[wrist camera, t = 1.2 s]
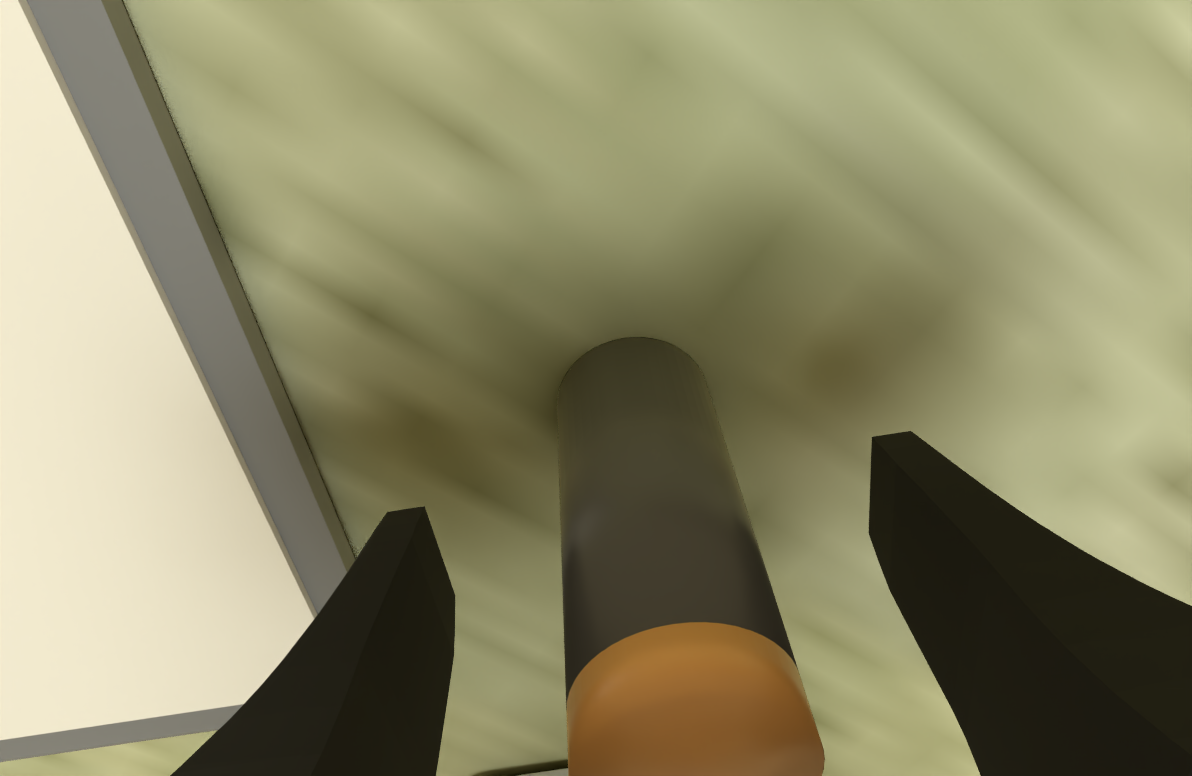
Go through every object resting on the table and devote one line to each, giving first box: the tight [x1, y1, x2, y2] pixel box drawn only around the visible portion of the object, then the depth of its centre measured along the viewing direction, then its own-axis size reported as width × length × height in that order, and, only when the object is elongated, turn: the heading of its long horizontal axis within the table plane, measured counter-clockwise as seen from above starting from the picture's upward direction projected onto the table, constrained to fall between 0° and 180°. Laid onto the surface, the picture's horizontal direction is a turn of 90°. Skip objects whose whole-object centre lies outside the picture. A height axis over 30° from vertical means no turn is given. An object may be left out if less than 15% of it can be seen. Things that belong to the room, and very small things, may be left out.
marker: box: [557, 337, 825, 776], centre depth 13 cm, size 3×3×8 cm
